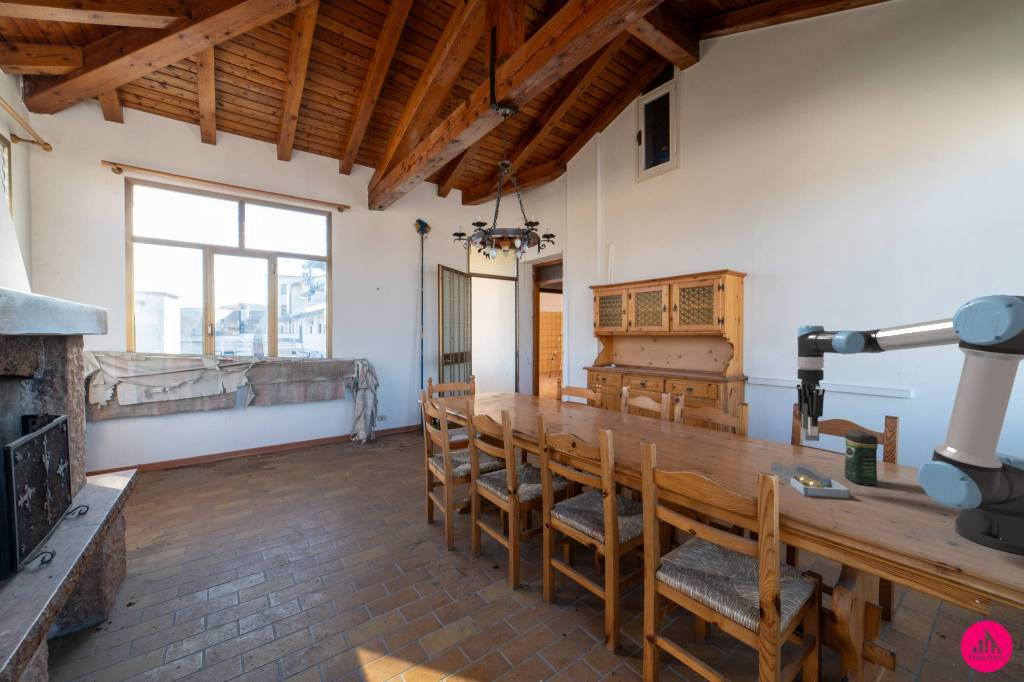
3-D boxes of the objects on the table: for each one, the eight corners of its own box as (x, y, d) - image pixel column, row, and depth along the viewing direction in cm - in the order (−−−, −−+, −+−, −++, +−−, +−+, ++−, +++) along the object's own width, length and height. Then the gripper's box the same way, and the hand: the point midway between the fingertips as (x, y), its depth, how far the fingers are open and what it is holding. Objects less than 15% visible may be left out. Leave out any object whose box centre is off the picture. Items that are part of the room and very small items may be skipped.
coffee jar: (881, 487, 144) (883, 435, 143) (856, 485, 145) (857, 434, 145) (864, 477, 153) (865, 428, 152) (840, 475, 155) (841, 427, 154)
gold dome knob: (811, 476, 139) (818, 480, 136) (819, 484, 139) (826, 488, 136) (803, 485, 139) (810, 488, 136) (811, 493, 139) (818, 496, 136)
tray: (849, 498, 134) (850, 489, 134) (804, 496, 136) (804, 487, 136) (832, 488, 142) (832, 479, 142) (790, 486, 145) (790, 477, 145)
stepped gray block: (819, 440, 143) (819, 404, 143) (805, 440, 144) (805, 404, 143) (813, 438, 146) (814, 402, 146) (800, 438, 147) (800, 402, 147)
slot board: (830, 488, 143) (830, 478, 142) (793, 486, 145) (793, 476, 144) (805, 472, 158) (805, 463, 158) (771, 470, 160) (771, 462, 160)
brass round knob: (812, 479, 142) (816, 482, 139) (805, 488, 143) (809, 491, 140) (801, 472, 143) (805, 475, 140) (794, 481, 144) (798, 485, 141)
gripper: (836, 370, 136) (835, 440, 136) (809, 366, 152) (808, 428, 152) (811, 370, 137) (811, 439, 137) (787, 366, 153) (786, 428, 153)
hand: (809, 433), depth 145 cm, fingers closed on stepped gray block, 3 cm apart
